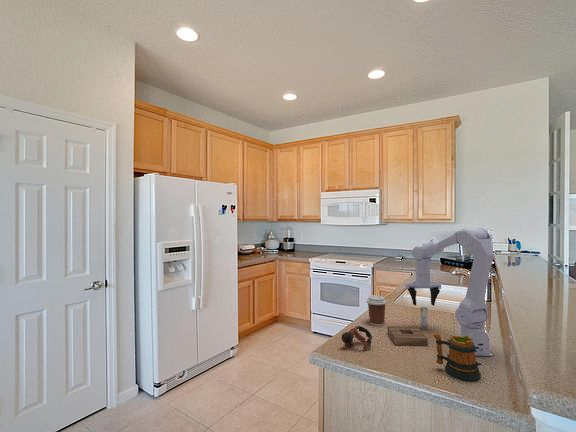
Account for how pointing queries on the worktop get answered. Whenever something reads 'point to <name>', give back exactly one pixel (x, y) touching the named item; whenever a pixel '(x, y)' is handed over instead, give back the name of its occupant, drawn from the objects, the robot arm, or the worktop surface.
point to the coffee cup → (376, 309)
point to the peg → (424, 318)
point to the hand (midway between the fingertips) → (423, 304)
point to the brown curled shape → (357, 336)
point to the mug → (459, 358)
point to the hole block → (407, 335)
